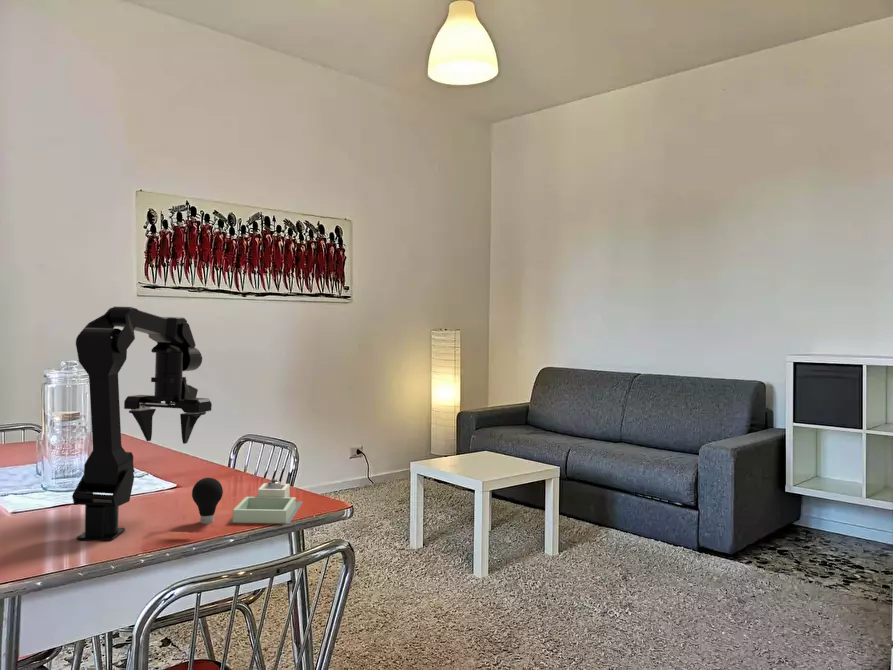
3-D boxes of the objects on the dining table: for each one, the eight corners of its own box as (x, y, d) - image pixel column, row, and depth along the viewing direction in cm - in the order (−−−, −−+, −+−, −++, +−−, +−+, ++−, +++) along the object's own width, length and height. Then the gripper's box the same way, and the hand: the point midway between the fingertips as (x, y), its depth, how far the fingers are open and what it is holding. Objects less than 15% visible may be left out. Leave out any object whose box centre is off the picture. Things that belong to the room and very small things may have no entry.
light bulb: (212, 533, 135) (213, 482, 135) (185, 530, 136) (186, 480, 136) (227, 524, 141) (228, 475, 140) (201, 522, 142) (202, 473, 142)
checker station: (289, 529, 138) (289, 503, 138) (228, 528, 138) (229, 502, 138) (303, 506, 155) (303, 483, 155) (249, 506, 155) (249, 483, 155)
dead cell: (278, 506, 151) (279, 480, 151) (265, 506, 151) (266, 480, 151) (281, 503, 154) (281, 478, 154) (268, 502, 154) (269, 477, 153)
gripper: (225, 372, 161) (223, 439, 161) (155, 369, 165) (153, 435, 165) (198, 375, 150) (196, 447, 150) (123, 371, 154) (121, 441, 154)
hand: (166, 442), depth 155 cm, fingers open, 9 cm apart
